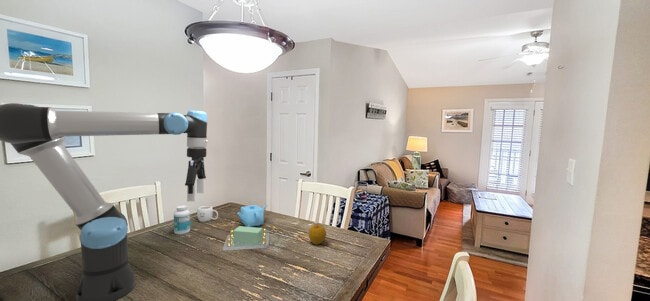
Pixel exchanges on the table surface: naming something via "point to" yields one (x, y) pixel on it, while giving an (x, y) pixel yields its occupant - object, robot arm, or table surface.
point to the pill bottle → (181, 220)
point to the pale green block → (248, 234)
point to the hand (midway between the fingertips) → (195, 197)
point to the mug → (205, 213)
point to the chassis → (246, 243)
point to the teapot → (252, 215)
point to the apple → (317, 234)
